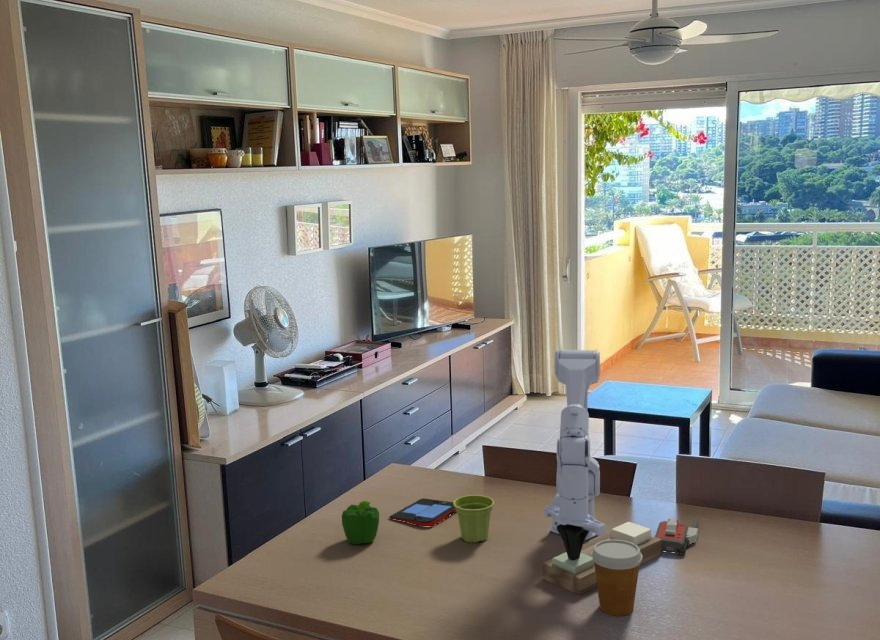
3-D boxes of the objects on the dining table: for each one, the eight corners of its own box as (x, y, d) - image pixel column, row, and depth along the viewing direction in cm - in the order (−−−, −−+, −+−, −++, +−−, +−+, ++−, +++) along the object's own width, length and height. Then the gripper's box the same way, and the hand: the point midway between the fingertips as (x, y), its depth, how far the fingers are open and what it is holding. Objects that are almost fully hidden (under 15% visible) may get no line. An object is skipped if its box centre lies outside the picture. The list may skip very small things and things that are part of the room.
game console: (421, 502, 223) (421, 494, 223) (462, 511, 216) (462, 503, 216) (387, 520, 212) (387, 512, 211) (429, 531, 204) (429, 522, 204)
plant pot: (448, 543, 196) (447, 507, 195) (462, 527, 205) (461, 492, 203) (487, 548, 193) (486, 511, 191) (500, 532, 201) (499, 497, 200)
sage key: (553, 571, 176) (552, 558, 176) (572, 562, 180) (572, 549, 180) (575, 581, 172) (575, 567, 171) (594, 572, 176) (594, 558, 175)
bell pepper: (336, 540, 199) (334, 499, 198) (364, 530, 205) (363, 490, 203) (357, 551, 193) (355, 509, 191) (386, 541, 198) (384, 499, 197)
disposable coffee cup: (585, 597, 169) (585, 540, 167) (633, 594, 170) (633, 537, 168) (598, 622, 159) (598, 561, 158) (648, 618, 160) (649, 557, 158)
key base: (542, 578, 177) (542, 562, 177) (624, 540, 195) (624, 526, 194) (580, 595, 170) (580, 578, 169) (661, 554, 187) (661, 539, 187)
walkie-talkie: (693, 559, 185) (701, 524, 203) (693, 540, 184) (701, 507, 203) (651, 554, 188) (663, 520, 207) (651, 535, 187) (663, 502, 206)
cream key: (611, 542, 188) (611, 529, 188) (628, 534, 192) (628, 521, 192) (634, 550, 184) (634, 537, 183) (651, 542, 188) (651, 529, 187)
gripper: (533, 490, 176) (534, 553, 178) (588, 509, 165) (588, 576, 167) (556, 482, 181) (557, 543, 183) (611, 500, 170) (611, 564, 172)
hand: (573, 558), depth 175 cm, fingers closed, pressing on sage key
